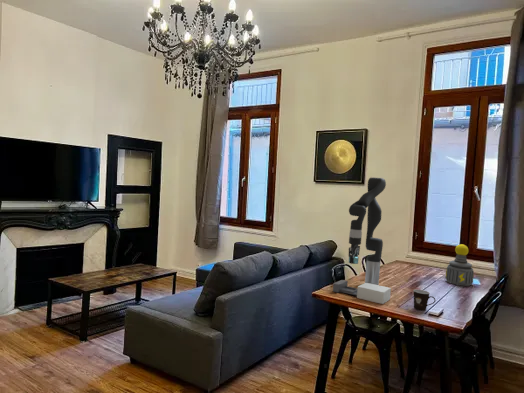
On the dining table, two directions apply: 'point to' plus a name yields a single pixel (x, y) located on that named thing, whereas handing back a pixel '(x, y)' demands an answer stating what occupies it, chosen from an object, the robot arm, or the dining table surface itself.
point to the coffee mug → (421, 299)
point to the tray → (344, 287)
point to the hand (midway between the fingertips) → (353, 262)
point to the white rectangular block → (374, 293)
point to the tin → (355, 260)
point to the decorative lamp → (460, 268)
